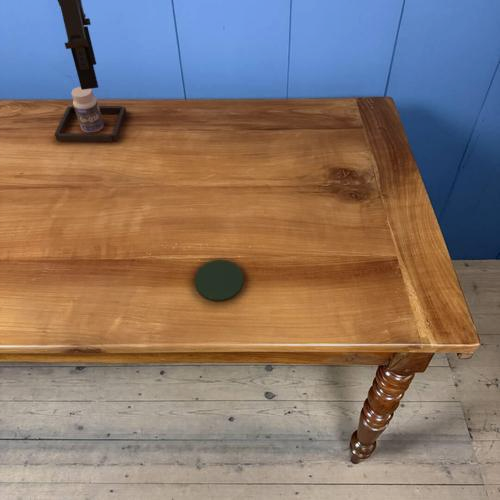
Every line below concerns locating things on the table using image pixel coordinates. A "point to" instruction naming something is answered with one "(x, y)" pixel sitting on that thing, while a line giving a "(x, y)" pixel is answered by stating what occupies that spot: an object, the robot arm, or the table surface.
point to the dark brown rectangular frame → (91, 137)
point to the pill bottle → (87, 110)
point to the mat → (219, 280)
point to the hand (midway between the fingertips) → (89, 76)
